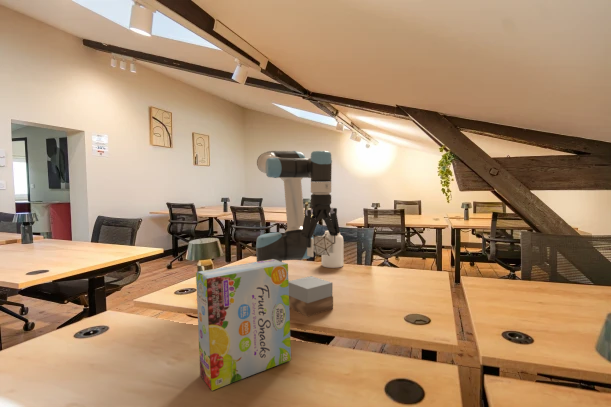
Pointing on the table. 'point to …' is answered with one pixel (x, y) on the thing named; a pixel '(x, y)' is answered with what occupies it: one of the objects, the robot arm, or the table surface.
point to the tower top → (310, 289)
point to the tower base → (311, 305)
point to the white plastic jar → (337, 257)
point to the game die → (322, 245)
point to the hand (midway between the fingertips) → (320, 254)
